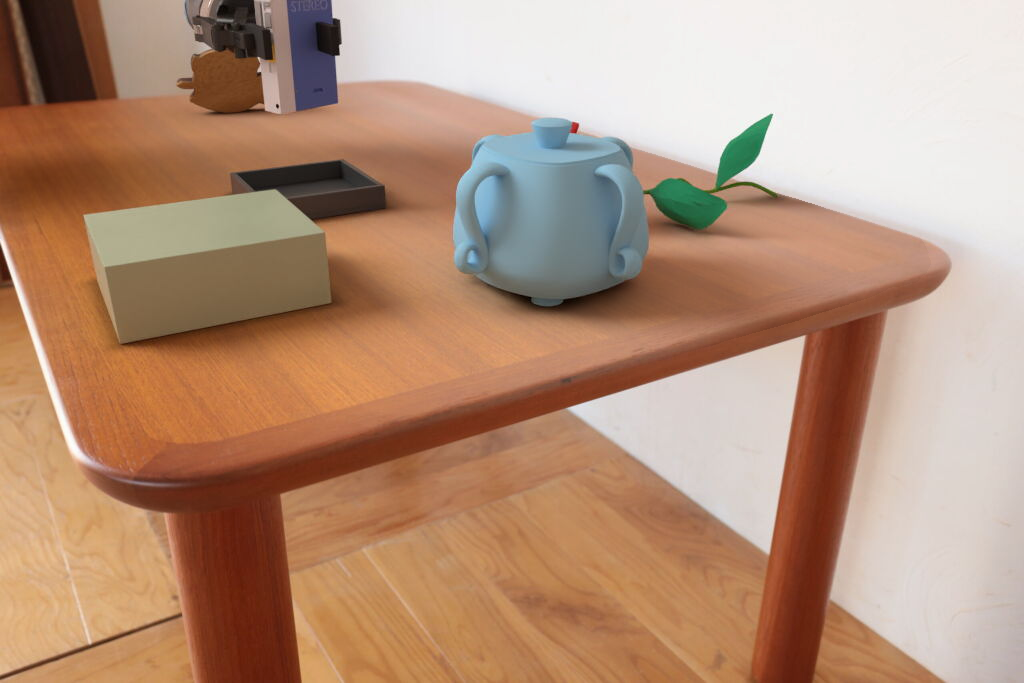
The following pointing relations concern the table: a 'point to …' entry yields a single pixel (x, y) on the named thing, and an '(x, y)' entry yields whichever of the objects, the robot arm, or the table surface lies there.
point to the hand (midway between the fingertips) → (301, 43)
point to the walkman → (296, 56)
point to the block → (206, 263)
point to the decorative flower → (701, 205)
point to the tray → (316, 187)
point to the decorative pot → (550, 213)
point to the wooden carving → (224, 82)
